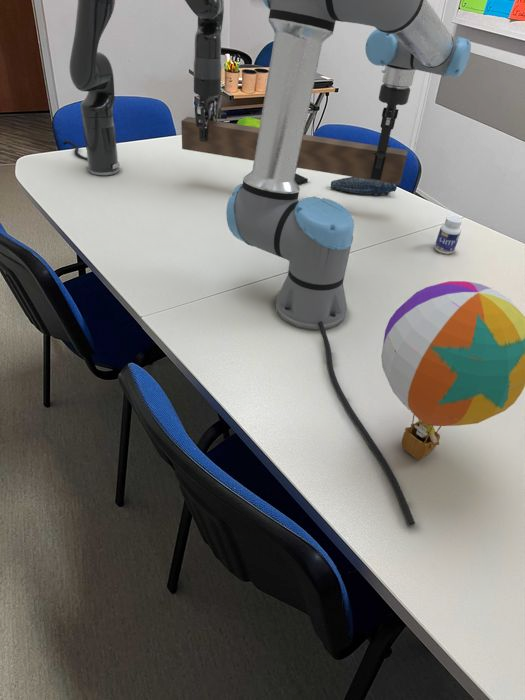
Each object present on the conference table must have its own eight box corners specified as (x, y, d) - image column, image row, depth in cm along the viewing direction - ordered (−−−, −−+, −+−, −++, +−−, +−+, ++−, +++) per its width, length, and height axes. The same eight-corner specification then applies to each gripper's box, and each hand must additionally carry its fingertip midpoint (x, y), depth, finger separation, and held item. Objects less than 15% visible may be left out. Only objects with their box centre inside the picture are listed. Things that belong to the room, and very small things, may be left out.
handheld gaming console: (311, 174, 172) (301, 154, 164) (301, 192, 171) (290, 172, 163) (284, 170, 178) (272, 149, 170) (274, 187, 177) (262, 167, 169)
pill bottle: (433, 251, 139) (442, 220, 133) (435, 243, 143) (444, 213, 137) (453, 256, 138) (464, 225, 132) (454, 247, 142) (465, 217, 136)
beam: (400, 178, 148) (407, 150, 143) (399, 184, 144) (406, 155, 139) (188, 144, 158) (187, 116, 153) (181, 149, 154) (181, 120, 149)
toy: (330, 441, 84) (367, 281, 65) (404, 391, 94) (454, 241, 75) (431, 526, 73) (512, 363, 54) (502, 459, 83) (589, 303, 64)
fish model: (395, 199, 165) (399, 183, 162) (329, 192, 166) (332, 176, 163) (393, 191, 171) (397, 176, 168) (330, 185, 172) (332, 169, 169)
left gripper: (203, 68, 148) (202, 130, 159) (184, 77, 137) (185, 143, 148) (228, 72, 147) (226, 134, 158) (211, 81, 136) (210, 147, 147)
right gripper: (384, 76, 140) (366, 163, 154) (378, 90, 126) (359, 184, 141) (412, 80, 139) (391, 167, 153) (409, 95, 125) (387, 188, 139)
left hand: (206, 138), depth 153 cm, fingers closed on beam, 5 cm apart
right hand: (376, 175), depth 147 cm, fingers closed on beam, 5 cm apart
